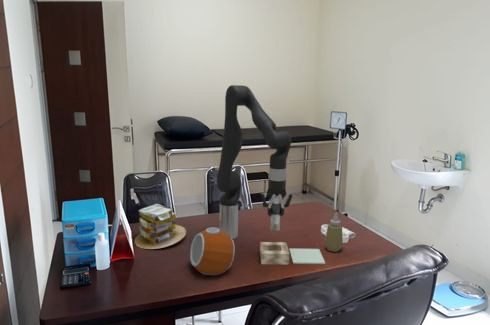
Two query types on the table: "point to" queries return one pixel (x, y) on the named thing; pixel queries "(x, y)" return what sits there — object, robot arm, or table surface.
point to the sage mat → (306, 256)
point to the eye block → (274, 253)
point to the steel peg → (275, 214)
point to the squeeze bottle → (334, 235)
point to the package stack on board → (158, 228)
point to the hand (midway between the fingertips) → (275, 215)
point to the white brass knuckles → (345, 233)
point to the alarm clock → (212, 251)
